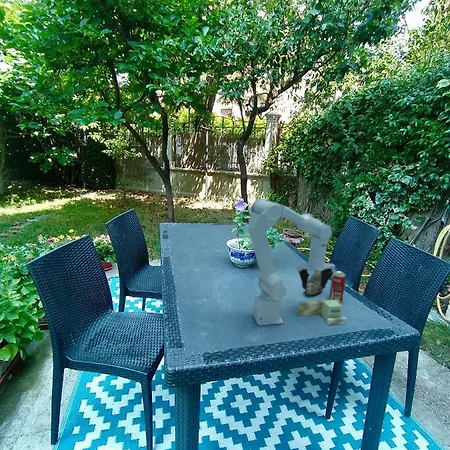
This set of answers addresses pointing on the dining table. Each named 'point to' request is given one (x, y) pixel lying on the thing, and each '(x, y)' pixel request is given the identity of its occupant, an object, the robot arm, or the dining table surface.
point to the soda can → (337, 286)
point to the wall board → (318, 311)
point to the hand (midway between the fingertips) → (313, 287)
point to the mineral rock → (314, 283)
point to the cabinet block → (331, 309)
